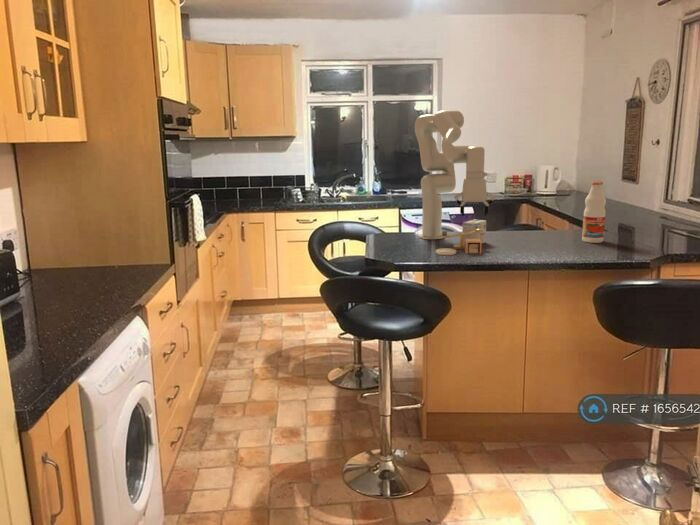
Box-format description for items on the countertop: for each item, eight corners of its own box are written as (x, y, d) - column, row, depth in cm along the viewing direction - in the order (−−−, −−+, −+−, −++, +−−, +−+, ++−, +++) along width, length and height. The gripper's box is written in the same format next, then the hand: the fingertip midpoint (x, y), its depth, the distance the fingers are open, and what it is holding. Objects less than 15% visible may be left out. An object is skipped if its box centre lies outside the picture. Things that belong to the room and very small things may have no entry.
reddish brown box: (464, 250, 261) (465, 238, 260) (479, 250, 260) (479, 238, 259) (466, 253, 255) (466, 241, 253) (481, 253, 254) (481, 241, 253)
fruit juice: (597, 239, 280) (602, 180, 273) (606, 242, 271) (611, 182, 264) (578, 239, 280) (582, 181, 273) (586, 243, 271) (591, 183, 264)
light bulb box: (474, 240, 282) (475, 218, 279) (486, 242, 277) (487, 220, 274) (461, 244, 274) (462, 221, 272) (473, 246, 270) (474, 223, 267)
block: (467, 251, 260) (467, 242, 259) (476, 251, 259) (477, 242, 258) (468, 253, 256) (469, 244, 255) (478, 253, 255) (478, 244, 254)
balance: (438, 246, 270) (439, 228, 268) (482, 246, 268) (483, 228, 266) (439, 249, 265) (440, 230, 263) (484, 248, 263) (485, 230, 261)
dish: (435, 250, 261) (435, 248, 261) (455, 250, 260) (455, 248, 260) (436, 255, 252) (436, 252, 252) (457, 255, 252) (457, 252, 251)
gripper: (493, 174, 253) (492, 213, 257) (453, 175, 254) (453, 214, 258) (496, 176, 245) (495, 216, 249) (455, 176, 247) (454, 216, 251)
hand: (473, 215), depth 254 cm, fingers open, 9 cm apart
